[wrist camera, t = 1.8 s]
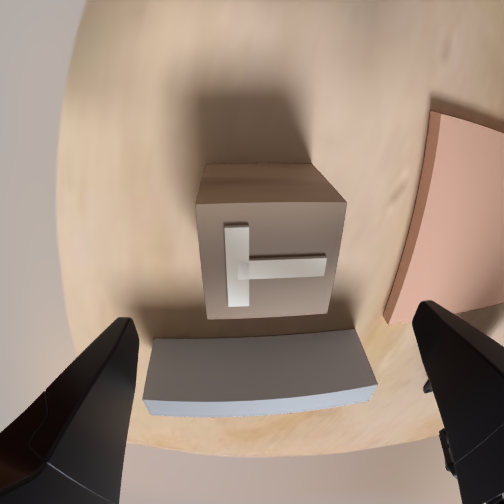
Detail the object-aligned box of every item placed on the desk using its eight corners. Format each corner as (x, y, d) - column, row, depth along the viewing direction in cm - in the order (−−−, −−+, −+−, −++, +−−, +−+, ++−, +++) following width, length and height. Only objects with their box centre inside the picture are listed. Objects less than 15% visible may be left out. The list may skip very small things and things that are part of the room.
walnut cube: (303, 251, 17) (327, 315, 12) (212, 254, 16) (207, 321, 12) (311, 163, 14) (348, 204, 10) (206, 163, 14) (195, 206, 9)
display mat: (500, 295, 21) (506, 302, 20) (383, 315, 20) (388, 325, 19) (548, 152, 13) (556, 156, 12) (430, 110, 12) (441, 113, 12)
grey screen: (348, 346, 21) (368, 400, 17) (160, 356, 20) (150, 415, 16) (354, 328, 20) (377, 384, 16) (154, 338, 19) (142, 399, 15)
